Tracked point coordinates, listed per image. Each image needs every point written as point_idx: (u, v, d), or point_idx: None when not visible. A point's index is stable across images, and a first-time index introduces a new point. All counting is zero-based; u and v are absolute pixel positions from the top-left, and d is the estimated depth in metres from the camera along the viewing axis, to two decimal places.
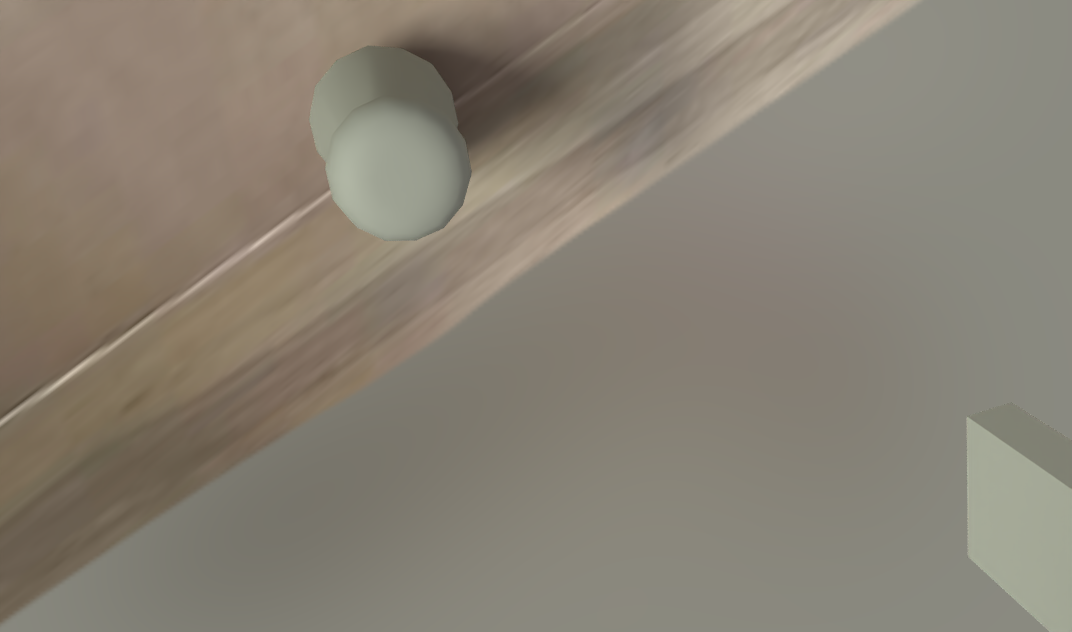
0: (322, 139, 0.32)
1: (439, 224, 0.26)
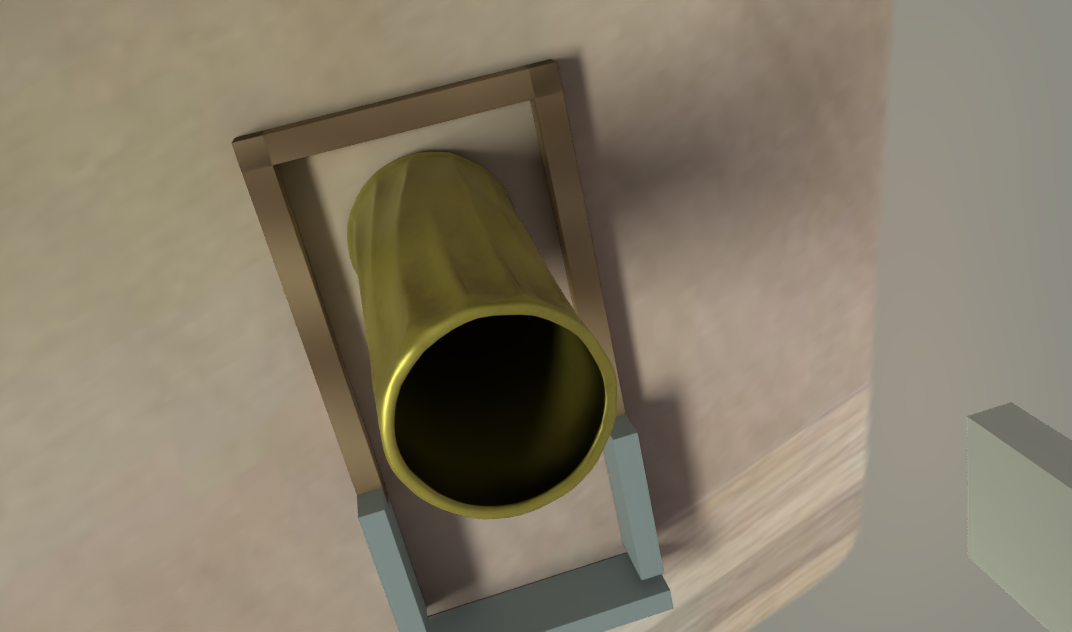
0: None
1: None
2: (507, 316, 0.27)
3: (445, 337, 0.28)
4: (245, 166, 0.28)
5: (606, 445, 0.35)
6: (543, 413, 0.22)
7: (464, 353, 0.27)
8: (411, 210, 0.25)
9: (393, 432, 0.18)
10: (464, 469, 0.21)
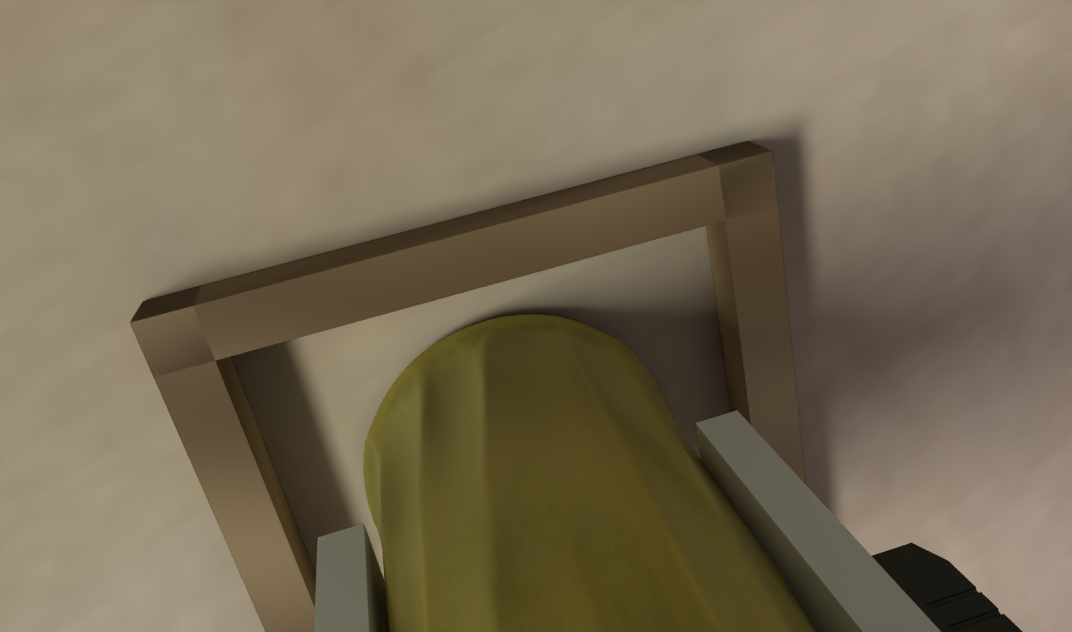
0: None
1: None
2: None
3: None
4: (160, 365, 0.14)
5: None
6: None
7: None
8: (517, 526, 0.11)
9: None
10: None
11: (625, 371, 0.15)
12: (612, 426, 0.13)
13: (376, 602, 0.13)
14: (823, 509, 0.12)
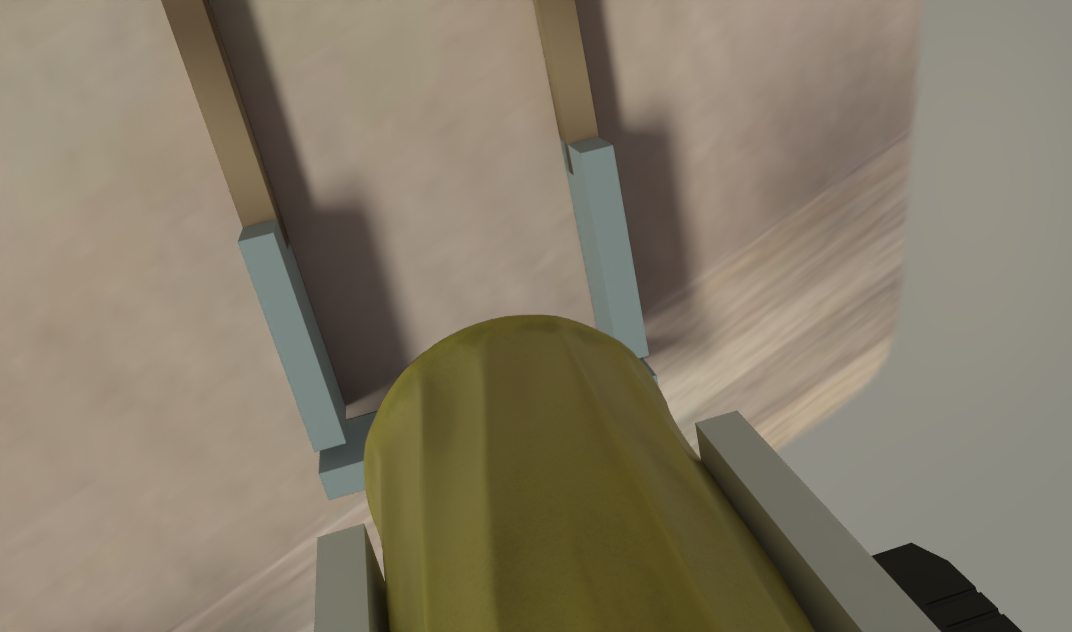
0: None
1: None
2: None
3: None
4: None
5: (574, 181, 0.27)
6: None
7: None
8: (517, 526, 0.11)
9: None
10: None
11: (625, 371, 0.15)
12: (612, 426, 0.13)
13: (376, 602, 0.13)
14: (822, 509, 0.12)
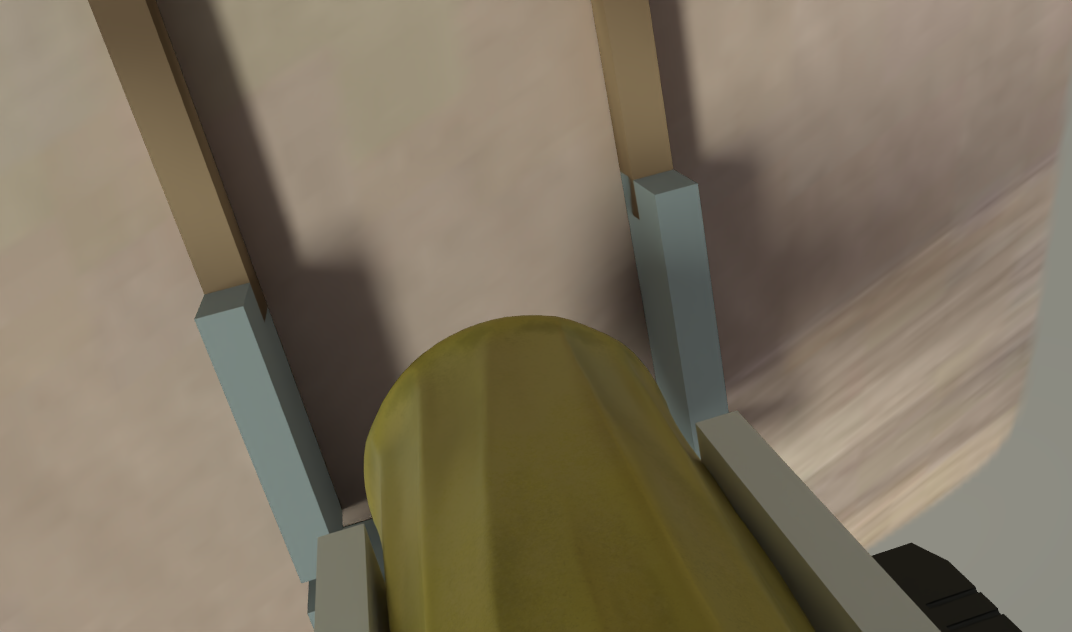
0: None
1: None
2: None
3: None
4: None
5: (639, 227, 0.21)
6: None
7: None
8: (518, 527, 0.11)
9: None
10: None
11: (625, 372, 0.15)
12: (613, 427, 0.12)
13: (376, 602, 0.13)
14: (823, 509, 0.12)
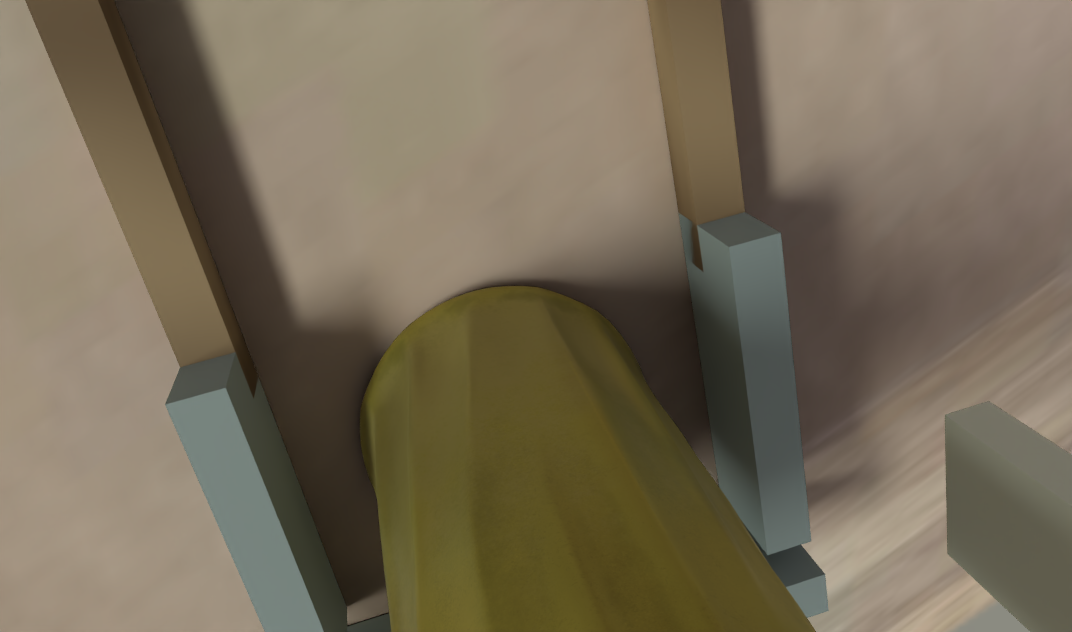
0: None
1: None
2: None
3: None
4: None
5: (702, 280, 0.17)
6: None
7: None
8: (495, 463, 0.12)
9: None
10: None
11: (599, 336, 0.17)
12: (583, 379, 0.14)
13: None
14: None
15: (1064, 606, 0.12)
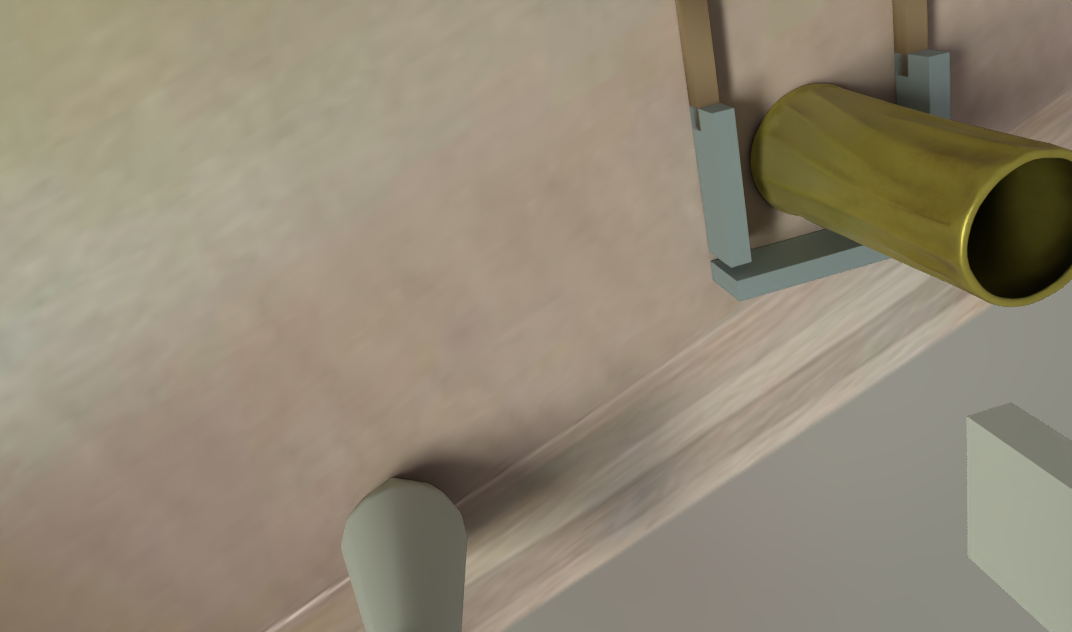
0: (353, 586, 0.38)
1: None
2: None
3: None
4: None
5: (906, 81, 0.39)
6: (1001, 250, 0.31)
7: None
8: (863, 116, 0.34)
9: (968, 239, 0.27)
10: None
11: None
12: (880, 100, 0.36)
13: None
14: None
15: None
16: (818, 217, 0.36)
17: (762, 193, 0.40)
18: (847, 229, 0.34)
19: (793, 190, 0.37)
